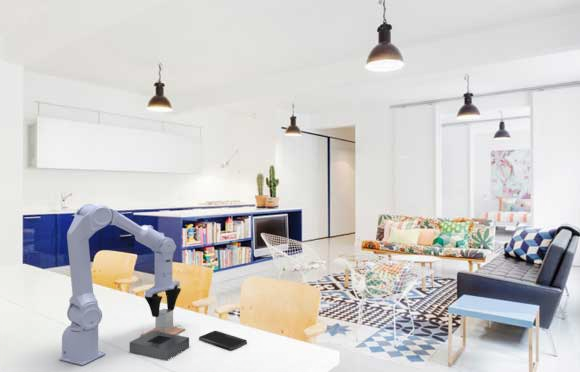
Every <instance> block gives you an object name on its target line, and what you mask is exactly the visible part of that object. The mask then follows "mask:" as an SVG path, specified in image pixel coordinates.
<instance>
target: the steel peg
mask: <svg viewBox="0 0 580 372" xmlns="http://www.w3.org/2000/svg"><path fill="white" fill-rule="evenodd" d="M154 325H155V327H154V328H155V331H157V332H162V333H170V332H172V331H173V327H174V310H170V309H168V308H161V309H159V316H158V317H155V324H154Z"/></svg>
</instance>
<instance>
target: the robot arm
mask: <svg viewBox="0 0 580 372" xmlns="http://www.w3.org/2000/svg"><path fill="white" fill-rule="evenodd" d="M108 225H109V226H116V227H118V228H120V229H122V230H124V231H126V232H128V233H129V234H131V235H134V238H135V241H136V242H138V243H139V244H141V245H144V246H145V247H147V248H149V249H150V250H151V251H152V252H153V253H154V285H153V286H152V287H150V288H148V289H147V290H145V295H144V300H145V301H146V302H147V304H148V306H149V309H150V312H151V313H150V314H151V316H152V317H154V318H156V317H158V316H159V310H160V306H161V303H162V299H163V296H160V295H159V294H160V293H163V292H165V296H166V305H167V308H166V309H170V310H173V311H174V310H175V308H176V302H177V300H178V296H179V295H180V293H181V292H182V289H181V287H180V284H181V282H180V281H179V280H173V258H174V253H175V251H176V249H177V245H176V243H175V241H174V239H173V238H171V237H168V236H165V233H164V232H159V231H157V230H155V229H154V226H152V225H150V224H149V225H147V224H143V225H139V224H138V223H136V222H135V221H133V220H131V219H130V218H128V217H127V216H125V215H123V214H122V213H121V212H118V210H116V209H112V208H110V207H108V206H106V205H102V204H101V205H100V204H99V205H95V204H90V203H88V204H84V205H82V206H81V207H80V208H78V210H76V211H75V212H74V218H73V220H72V221H71V224H70V226H69V228H68V230H67V233H66V238H67V239H66V240H67V251H68V258H69V260H68V261H69V270H70V271H69V272H70V281H71V292H72V293H71V294H72V295H71V297H69V300H68V301H69V307H68V308H67V312H66V316H67V318H68V320H69V321H71V323H70V324H69V326H67V327H66V328H65V329H64V331H63V333H62V336H61V356H60V357H59V358H58V360H60V361H64V362H68V363H71V364H75V365H80V366H84V365H86V364H88V363H91V362H92V361H95V360H96V359H98V358H101V357H102V356H105V355H106V352H105V351H100V350H99V324H100V323H101V321H102V319H103V311H102V310H101V309H100V307H99V304H98V303H99V302H98V299H97V297H96V295H95V293H94V288H93V287H94V286H93V276H92V264H91V255H90V243H89V239H90V238H91V237H92V236H93V235H94V234H95V233H96V232H98V231H100V230H101V229H103V228H105V227H107V226H108Z"/></svg>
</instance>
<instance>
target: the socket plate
mask: <svg viewBox="0 0 580 372" xmlns="http://www.w3.org/2000/svg"><path fill="white" fill-rule="evenodd" d="M188 347H189V348H190V337H189V336H183V335H179V334H177V335H173V334H168V333H162V332H157V331H152V332H150V333H148V334H145V335H143V336H141V335H140V336H139V337H138V338H135V339H133V340H131V341H130V342H129V353H131V354H135V355H140V356H143V357H144V356H145V357H150V358H154V359H159V360H163V359H164V360H163V361H169V360H171V359H172V358H173V356H174V357H176V356H177V355H179V354H180V353H182V352H184V351H185V350H187V349H189V348H188ZM186 348H187V349H186ZM183 350H184V351H183ZM181 351H182V352H181ZM178 353H179V354H178ZM176 354H177V355H176ZM171 357H172V358H171ZM170 358H171V359H170ZM168 359H169V360H168Z"/></svg>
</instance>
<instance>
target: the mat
mask: <svg viewBox="0 0 580 372" xmlns="http://www.w3.org/2000/svg"><path fill="white" fill-rule="evenodd" d="M152 331H155V327H154V328H152V329H150V330H148V331H146V332H143V333H142V334H140V337H141V336H143V335H145V334H148V333H150V332H152ZM185 331H186V329H185V328H182V327H176V326H173V331H172V332H170V333H168V334H173V335H179V334H181V333H182V332H185Z"/></svg>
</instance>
